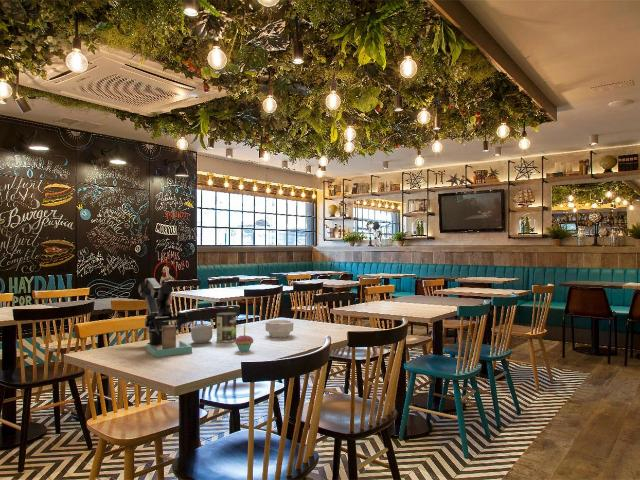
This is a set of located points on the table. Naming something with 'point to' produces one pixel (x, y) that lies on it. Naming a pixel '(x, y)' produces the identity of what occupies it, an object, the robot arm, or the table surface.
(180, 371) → the table surface
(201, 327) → the teacup
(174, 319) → the robot arm
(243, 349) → the cupcake
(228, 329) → the coffee can
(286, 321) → the paper bowls
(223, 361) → the table surface
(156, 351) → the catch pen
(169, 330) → the handle block
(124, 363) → the table surface
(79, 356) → the table surface
